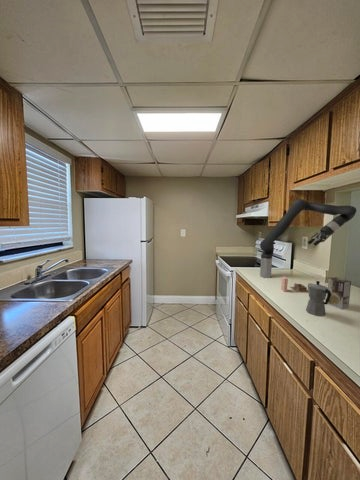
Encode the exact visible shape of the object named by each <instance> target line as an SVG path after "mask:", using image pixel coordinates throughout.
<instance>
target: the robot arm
mask: <svg viewBox="0 0 360 480" xmlns="http://www.w3.org/2000/svg"><path fill="white" fill-rule="evenodd" d="M302 211H311V212H316V213H320V214H325V215H329V216H335V217H334V218H333V219H332V220H330V221H329V222H328V223H326V224H325V225H324V226H323V227H322V228H320V232H316V233H315V234H314V235H312V236H311V237H310V239H309V240H308V241H307V244H308V245H312V243H313V245H314V246H315V247H316V246H318V245H319V244H320V243H325V241H326V240H328V238H330V237H331V236H332V235H333V234H334V233H335V232H337V231H338V230H339V229H340V228H341V227H342V226H343V225H345V224H346V223H348V222H349V221H351V220H352V219H354V217H355V215H356V213H357V208H356V207H355V206H352V205H334V204H328V203H327V204H326V203H318V202H312V201H308V200H305V199H302V198H299V199H295V200H294V201H293V202H292V203H291V205H290V207H289V208H288V210H287V211H286V213H285V214H284V215H283V216H281V218H280V219H279V220H278V222H277V223H276V224H275V226H274V227H273V228H272V229H271V231H270V232H269V233H268V235H267V236H265V238H264V239H263V240H262V241H261V242H260V244H259V248H260V250H262V253H261V254H260V270H259V271H260V273H259V277H262V278H266V279H267V278H268V279H269V278H272V264H273V256H274V251H275V250H274V247H275V244H274V243H275V241H276V240H277V239H279V238H280V237H281V236H282V235H283V234H285V232H286V231H287V230H288V229H289V227H291V225H292V223H293V221H294V220H295V218H296V217H297V216H298V215H299V214H300V213H301V212H302Z"/></svg>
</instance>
